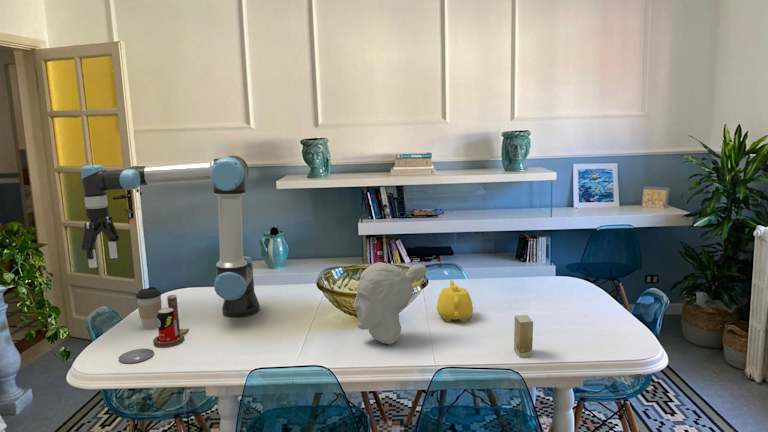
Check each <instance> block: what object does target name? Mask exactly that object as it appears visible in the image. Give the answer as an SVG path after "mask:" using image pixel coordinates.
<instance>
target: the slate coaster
mask: <svg viewBox="0 0 768 432" xmlns="http://www.w3.org/2000/svg"><path fill="white" fill-rule="evenodd" d="M154 356H155V352H154V350H153V349H151V348H136V349H133V350H132V349H131V350H129V351H125V352H124V353H122V354H121V355H119V357H118V362H119V363H121V364H124V365H131V364H133V365H134V364H140V363H143V362H145V361H149V360H150V359H152V358H153V357H154Z"/></svg>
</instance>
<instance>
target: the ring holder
mask: <svg viewBox="0 0 768 432" xmlns="http://www.w3.org/2000/svg"><path fill="white" fill-rule="evenodd" d="M166 298H167V299H166V300H167V308H173V310H174V312H175V313H176V322H177V332H178V339H177V340H174V341H170V342H160V341H159V335H157V336H155V338H153V339H152V342H153V346H154V347H155V348H156V347H157V348H159V349H160V348H161V349H163V348H164V349H165V348H166V349H167V348H172V347H175V346H179V345H181V344H183V342H185V336H186V335H187V334H188V332H189V330H190V329H189V328H180V326H181V325H180V319H179V318H180V317H179V309H178V307H179V306H178V297H177V295H176V294H169V295H167V296H166Z"/></svg>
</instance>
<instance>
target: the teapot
mask: <svg viewBox="0 0 768 432" xmlns="http://www.w3.org/2000/svg"><path fill="white" fill-rule="evenodd" d="M436 304H437V305H436V310H437V313H438V315H439V317H441V318H442V319H444V322H445V323H450V322H452V320H460V322H461V323H464V322H465V323H466V322H467V321H468V319H469V318H470V317H471V316H472V315H473V311H474V306H473V302H472V299H471V296H470V294H469V292H468V290H467V289H466V288H465V287H459V286H458V285H455V282H454V280H453V279H451V280H450V281H449V287H444V288H442V289H441V291H440V293H439V296H438V299H437V303H436Z"/></svg>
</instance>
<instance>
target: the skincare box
mask: <svg viewBox="0 0 768 432" xmlns="http://www.w3.org/2000/svg"><path fill="white" fill-rule="evenodd" d="M513 328H514V333H513V334H514V335H513V336H514V337H513V351H514V352H515V353H516V355H517V356H518V357H519V358H532V357H533V340H534V339H533V336H534V335H533V333H534V321H533V320H532V319H531V317H529V315H528V314H522V315H518V314H517V315H514V327H513Z"/></svg>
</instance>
